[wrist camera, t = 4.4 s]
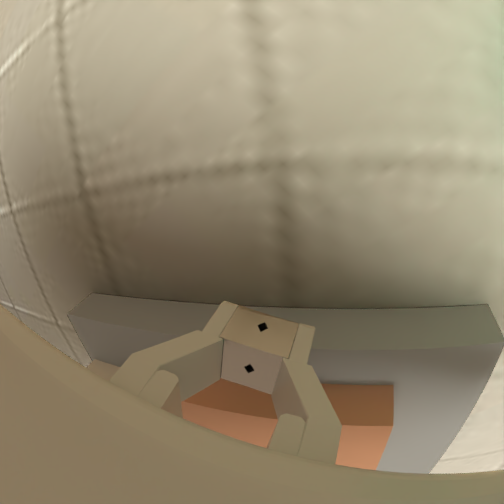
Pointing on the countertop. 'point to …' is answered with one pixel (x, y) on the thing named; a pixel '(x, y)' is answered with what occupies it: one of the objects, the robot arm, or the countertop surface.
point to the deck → (342, 357)
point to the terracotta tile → (265, 419)
